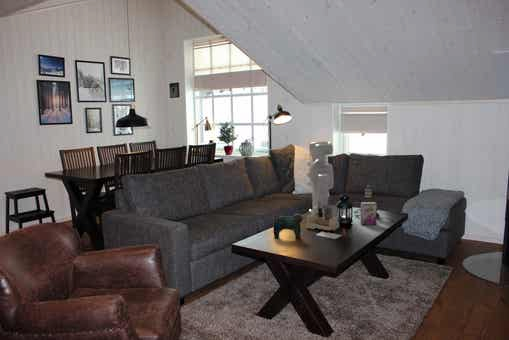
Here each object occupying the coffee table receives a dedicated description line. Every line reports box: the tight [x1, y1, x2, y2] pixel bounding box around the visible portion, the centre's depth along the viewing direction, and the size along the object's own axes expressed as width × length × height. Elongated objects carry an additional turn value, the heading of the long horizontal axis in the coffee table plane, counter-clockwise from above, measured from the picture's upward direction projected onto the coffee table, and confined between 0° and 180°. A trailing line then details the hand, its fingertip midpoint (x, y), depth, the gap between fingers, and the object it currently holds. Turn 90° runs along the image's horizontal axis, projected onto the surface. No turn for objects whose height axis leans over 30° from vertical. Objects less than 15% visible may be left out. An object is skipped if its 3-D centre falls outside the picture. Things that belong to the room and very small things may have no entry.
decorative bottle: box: [354, 184, 383, 217], centre depth 337 cm, size 22×21×25 cm
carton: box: [305, 213, 340, 231], centre depth 310 cm, size 19×15×9 cm
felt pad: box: [315, 231, 342, 240], centre depth 292 cm, size 15×9×1 cm, turn 50°
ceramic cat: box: [272, 208, 304, 240], centre depth 287 cm, size 20×6×20 cm, turn 81°
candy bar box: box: [359, 201, 378, 226], centre depth 315 cm, size 11×5×16 cm, turn 84°
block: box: [314, 207, 333, 220], centre depth 310 cm, size 12×5×8 cm, turn 50°
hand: (322, 215), depth 310 cm, fingers closed on block, 5 cm apart
